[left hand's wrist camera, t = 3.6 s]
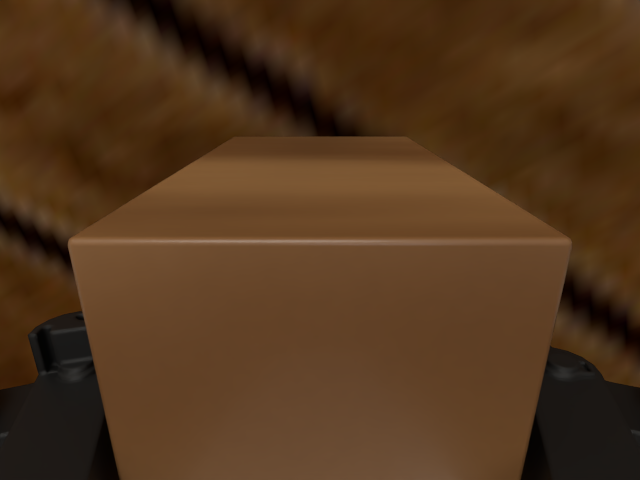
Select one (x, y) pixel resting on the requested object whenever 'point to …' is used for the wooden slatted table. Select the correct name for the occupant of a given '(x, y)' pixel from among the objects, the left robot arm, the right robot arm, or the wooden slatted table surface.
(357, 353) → the bar
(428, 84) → the wooden slatted table surface
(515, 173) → the wooden slatted table surface
